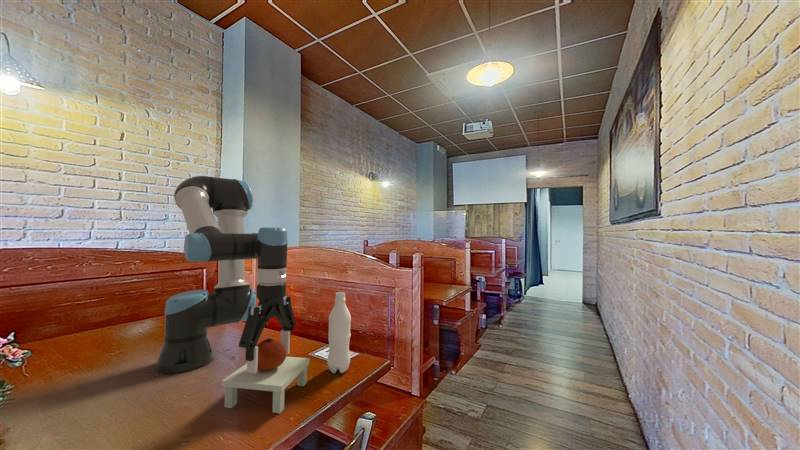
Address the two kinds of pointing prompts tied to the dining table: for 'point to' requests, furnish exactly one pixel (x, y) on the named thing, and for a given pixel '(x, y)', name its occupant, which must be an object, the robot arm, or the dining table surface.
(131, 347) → the dining table surface
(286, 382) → the small white table
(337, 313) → the water bottle
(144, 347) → the dining table surface
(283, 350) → the fruit
